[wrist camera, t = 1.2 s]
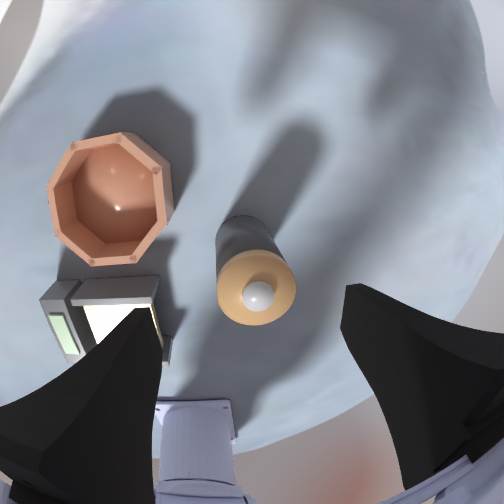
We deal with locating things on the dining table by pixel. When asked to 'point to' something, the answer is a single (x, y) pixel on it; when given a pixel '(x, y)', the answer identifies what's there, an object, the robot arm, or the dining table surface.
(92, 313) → the plunger
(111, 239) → the cup
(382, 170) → the dining table surface
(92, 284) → the battery checker
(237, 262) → the cell
